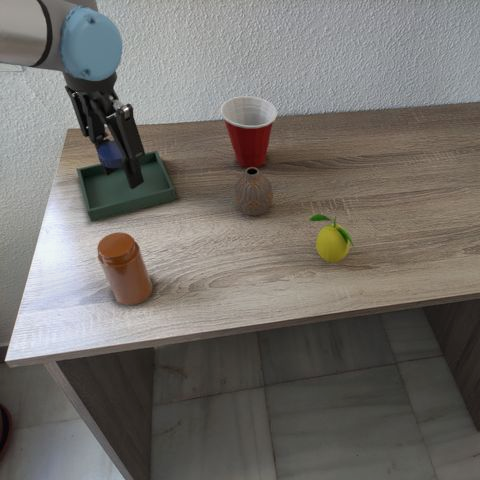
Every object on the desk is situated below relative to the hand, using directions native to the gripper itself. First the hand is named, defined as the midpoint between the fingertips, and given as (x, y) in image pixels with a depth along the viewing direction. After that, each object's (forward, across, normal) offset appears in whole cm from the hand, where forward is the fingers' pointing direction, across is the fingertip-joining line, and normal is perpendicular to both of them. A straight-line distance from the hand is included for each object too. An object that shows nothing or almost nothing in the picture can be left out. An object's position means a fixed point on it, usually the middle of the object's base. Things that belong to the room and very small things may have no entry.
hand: (124, 177), depth 88 cm
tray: (+3, 0, 0) cm, 3 cm away
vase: (+3, -23, -10) cm, 25 cm away
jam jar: (+3, -20, +16) cm, 26 cm away
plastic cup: (+3, -13, -21) cm, 25 cm away
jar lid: (-6, 0, 0) cm, 6 cm away
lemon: (+3, -41, -7) cm, 42 cm away
